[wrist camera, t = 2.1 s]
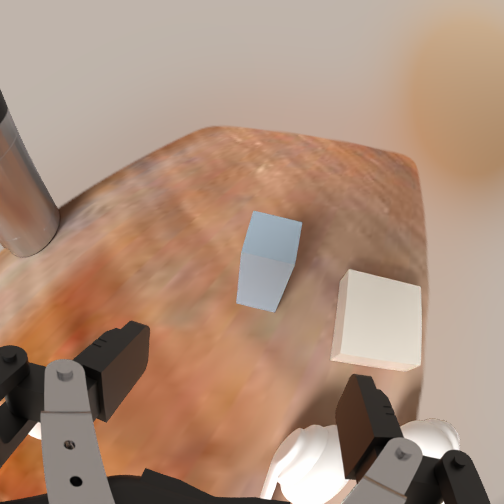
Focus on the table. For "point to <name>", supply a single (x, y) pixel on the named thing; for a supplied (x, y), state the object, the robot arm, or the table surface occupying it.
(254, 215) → the pillar
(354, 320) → the base
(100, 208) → the table surface
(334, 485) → the headphones
